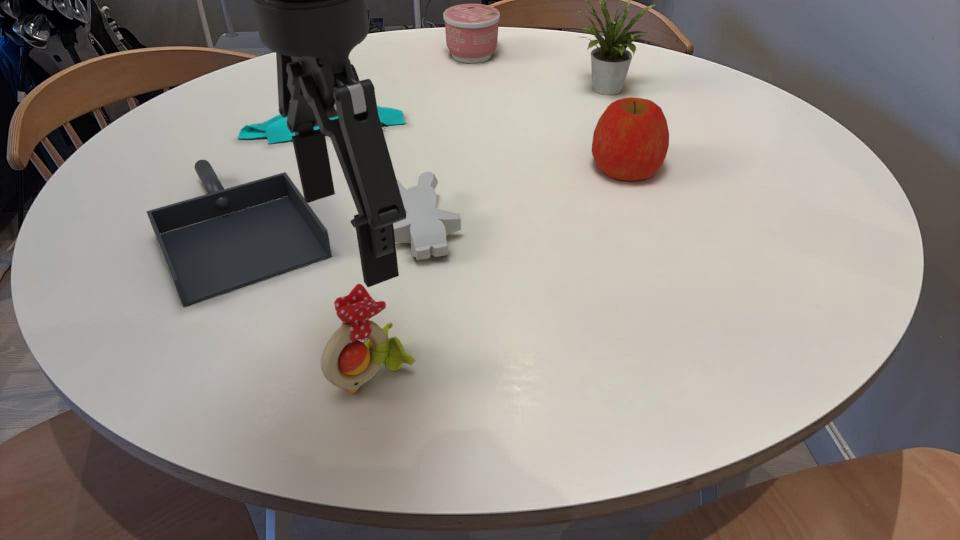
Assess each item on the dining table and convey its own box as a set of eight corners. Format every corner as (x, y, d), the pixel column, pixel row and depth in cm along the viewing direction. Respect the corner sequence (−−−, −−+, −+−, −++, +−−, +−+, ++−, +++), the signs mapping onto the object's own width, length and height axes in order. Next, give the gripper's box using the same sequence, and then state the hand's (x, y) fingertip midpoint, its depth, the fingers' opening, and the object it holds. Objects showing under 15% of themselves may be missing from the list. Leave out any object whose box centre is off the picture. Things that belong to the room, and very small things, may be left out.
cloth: (406, 100, 119) (405, 88, 118) (404, 140, 109) (403, 127, 107) (252, 104, 118) (249, 92, 117) (235, 145, 108) (231, 132, 106)
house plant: (545, 94, 121) (552, -1, 110) (577, 65, 130) (585, -26, 120) (624, 113, 116) (638, 14, 105) (651, 81, 125) (666, -12, 114)
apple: (643, 144, 108) (653, 79, 101) (677, 180, 100) (692, 113, 93) (578, 154, 105) (585, 89, 99) (608, 193, 97) (618, 124, 91)
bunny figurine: (392, 245, 82) (371, 168, 92) (394, 275, 85) (374, 197, 95) (470, 232, 84) (441, 157, 94) (469, 262, 87) (441, 187, 97)
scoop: (332, 256, 87) (327, 230, 84) (183, 307, 80) (173, 280, 77) (266, 160, 104) (260, 136, 102) (139, 195, 97) (130, 170, 95)
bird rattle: (376, 419, 70) (432, 348, 72) (326, 376, 61) (392, 297, 63) (335, 388, 73) (390, 321, 76) (282, 343, 64) (347, 269, 67)
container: (504, 63, 131) (505, 21, 126) (449, 68, 129) (447, 25, 124) (493, 42, 139) (493, 1, 134) (440, 46, 137) (439, 5, 132)
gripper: (446, 30, 40) (457, 303, 53) (297, -71, 56) (334, 158, 70) (321, 59, 37) (367, 340, 50) (202, -57, 53) (261, 179, 67)
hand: (348, 235), depth 60 cm, fingers open, 13 cm apart
